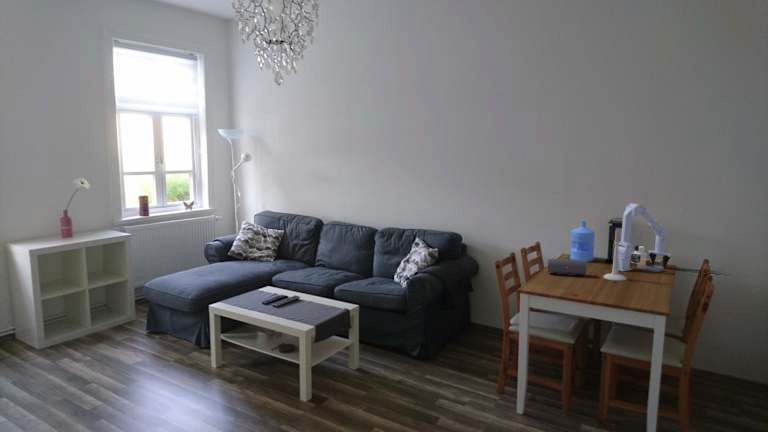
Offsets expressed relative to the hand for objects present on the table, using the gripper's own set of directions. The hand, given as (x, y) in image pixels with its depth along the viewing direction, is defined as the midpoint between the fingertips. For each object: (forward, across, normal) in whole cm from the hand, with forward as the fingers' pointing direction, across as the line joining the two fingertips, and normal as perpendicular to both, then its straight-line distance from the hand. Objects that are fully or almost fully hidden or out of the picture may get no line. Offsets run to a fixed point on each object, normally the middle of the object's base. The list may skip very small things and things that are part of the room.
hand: (658, 265), depth 328 cm
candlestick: (+2, -3, +49) cm, 49 cm away
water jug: (+2, +43, +23) cm, 49 cm away
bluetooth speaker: (+2, +18, +67) cm, 70 cm away
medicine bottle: (+2, +16, -2) cm, 16 cm away
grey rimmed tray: (+1, 0, +10) cm, 10 cm away
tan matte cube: (+2, 0, 0) cm, 2 cm away
